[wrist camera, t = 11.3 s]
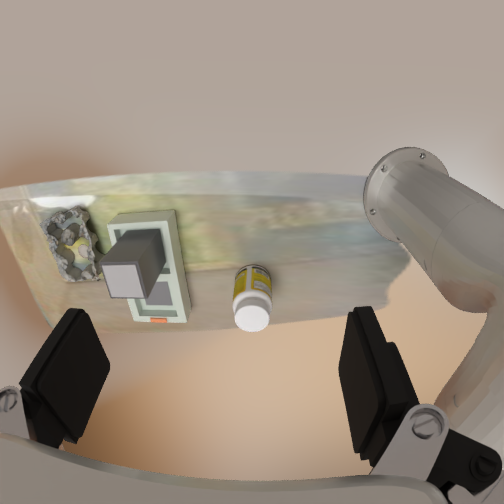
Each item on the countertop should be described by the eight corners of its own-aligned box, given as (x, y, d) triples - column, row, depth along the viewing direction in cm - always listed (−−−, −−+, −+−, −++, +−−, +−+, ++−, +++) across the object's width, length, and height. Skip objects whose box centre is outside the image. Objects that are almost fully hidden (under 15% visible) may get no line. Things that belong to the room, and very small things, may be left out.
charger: (126, 230, 38) (98, 263, 30) (159, 228, 37) (137, 262, 30) (133, 262, 40) (110, 299, 32) (166, 261, 39) (147, 299, 32)
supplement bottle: (239, 295, 44) (234, 336, 37) (232, 266, 42) (226, 305, 35) (273, 291, 44) (275, 332, 36) (268, 261, 42) (269, 300, 34)
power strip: (117, 214, 39) (105, 225, 35) (174, 209, 38) (166, 221, 35) (141, 306, 46) (133, 322, 42) (191, 307, 45) (186, 324, 42)
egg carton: (112, 268, 43) (101, 284, 40) (74, 273, 44) (62, 288, 40) (88, 201, 38) (74, 212, 35) (50, 211, 39) (35, 222, 35)
